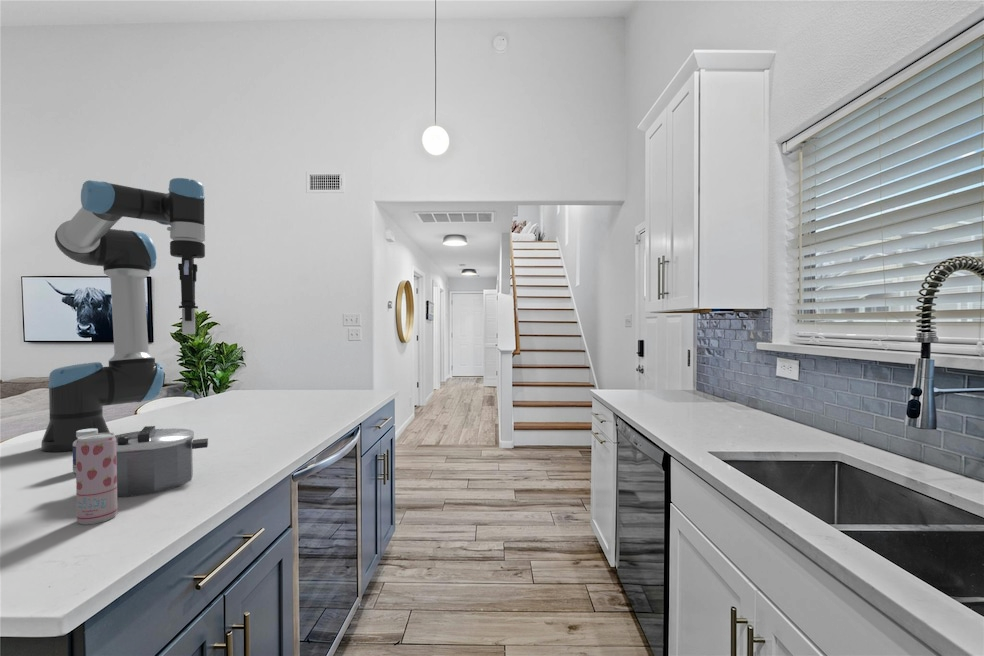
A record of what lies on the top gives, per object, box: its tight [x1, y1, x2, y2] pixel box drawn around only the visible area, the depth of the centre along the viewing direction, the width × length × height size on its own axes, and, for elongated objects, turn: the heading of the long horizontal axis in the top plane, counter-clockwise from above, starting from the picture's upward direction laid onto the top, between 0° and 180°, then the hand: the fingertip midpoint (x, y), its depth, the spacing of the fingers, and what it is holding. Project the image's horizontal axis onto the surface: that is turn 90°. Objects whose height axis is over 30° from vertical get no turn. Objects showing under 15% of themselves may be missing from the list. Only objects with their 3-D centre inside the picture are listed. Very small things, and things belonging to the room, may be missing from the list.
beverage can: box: [75, 432, 119, 526], centre depth 87 cm, size 6×6×15 cm
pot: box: [116, 438, 209, 498], centre depth 106 cm, size 17×23×9 cm
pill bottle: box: [72, 429, 98, 474], centre depth 115 cm, size 5×5×10 cm
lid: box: [115, 425, 195, 453], centre depth 106 cm, size 18×18×3 cm
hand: (188, 334), depth 123 cm, fingers closed
